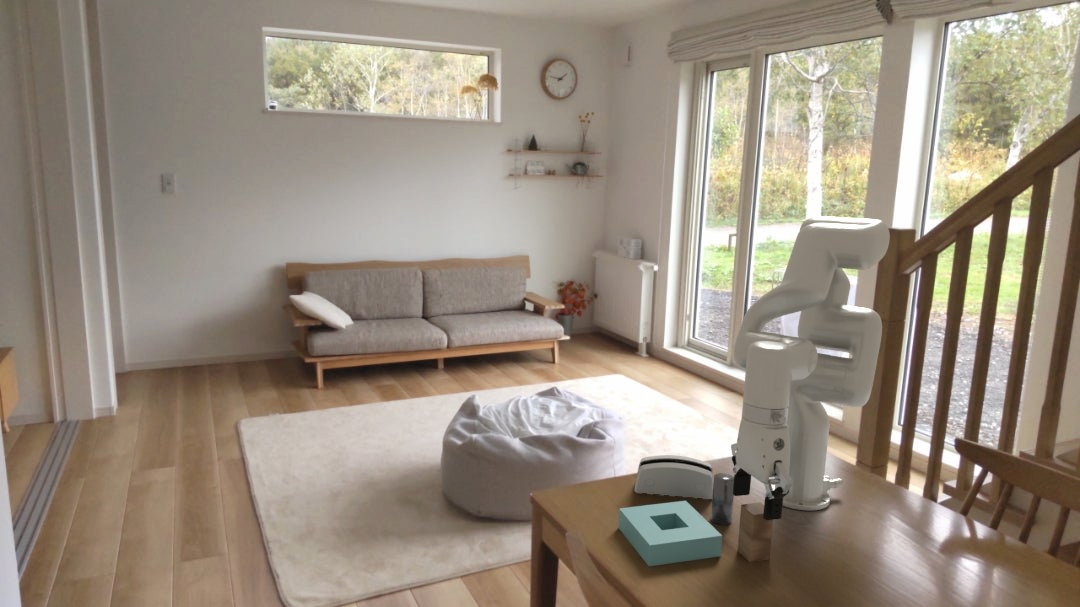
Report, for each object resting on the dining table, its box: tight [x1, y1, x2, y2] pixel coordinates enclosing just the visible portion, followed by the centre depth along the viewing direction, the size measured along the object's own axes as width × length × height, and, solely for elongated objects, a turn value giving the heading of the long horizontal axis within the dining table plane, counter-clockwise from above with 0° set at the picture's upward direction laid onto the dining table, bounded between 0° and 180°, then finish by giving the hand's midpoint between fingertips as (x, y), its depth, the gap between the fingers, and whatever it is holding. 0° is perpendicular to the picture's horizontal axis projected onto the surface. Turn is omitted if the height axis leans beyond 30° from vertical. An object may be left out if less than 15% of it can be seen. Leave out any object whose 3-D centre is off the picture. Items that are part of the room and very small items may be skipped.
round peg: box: [710, 472, 735, 526], centre depth 142 cm, size 4×4×9 cm
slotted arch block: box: [634, 454, 714, 500], centre depth 153 cm, size 17×5×10 cm, turn 81°
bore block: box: [617, 500, 723, 567], centre depth 133 cm, size 14×14×4 cm
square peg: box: [737, 502, 774, 563], centre depth 129 cm, size 4×4×9 cm
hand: (756, 506), depth 127 cm, fingers open, 9 cm apart
